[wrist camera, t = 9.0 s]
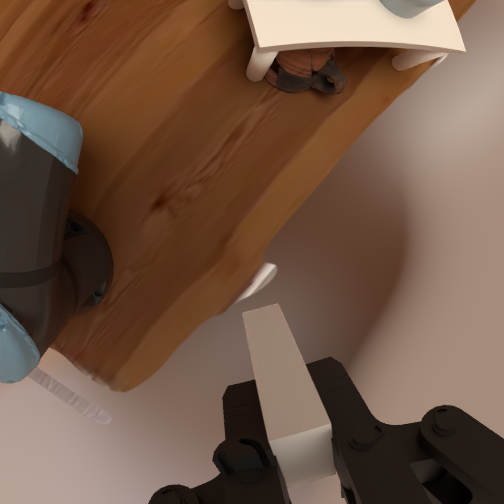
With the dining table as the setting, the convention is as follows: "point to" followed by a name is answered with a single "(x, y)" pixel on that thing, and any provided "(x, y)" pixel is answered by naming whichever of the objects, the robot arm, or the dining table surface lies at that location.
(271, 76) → the pottery mug
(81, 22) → the dining table surface
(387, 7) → the tumbler
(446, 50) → the side counter
